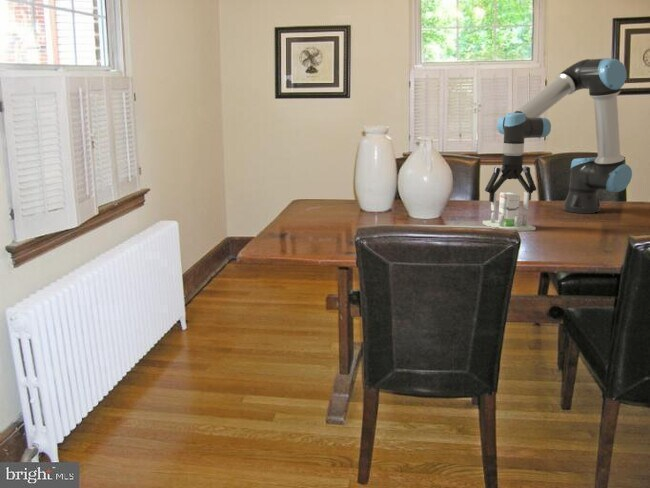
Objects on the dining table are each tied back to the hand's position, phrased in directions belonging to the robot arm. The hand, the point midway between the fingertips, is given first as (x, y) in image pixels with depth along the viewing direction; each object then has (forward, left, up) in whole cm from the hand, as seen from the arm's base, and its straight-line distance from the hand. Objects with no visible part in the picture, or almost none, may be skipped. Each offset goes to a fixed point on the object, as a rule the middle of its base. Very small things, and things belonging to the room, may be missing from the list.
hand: (509, 209), depth 270 cm
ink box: (0, 0, -6) cm, 6 cm away
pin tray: (0, 0, -7) cm, 7 cm away
